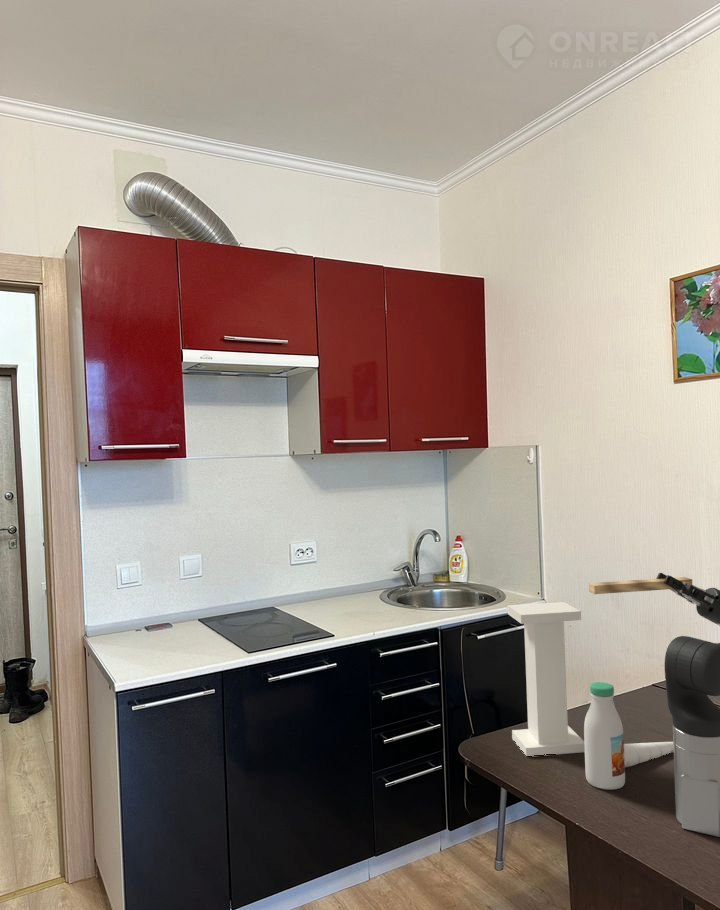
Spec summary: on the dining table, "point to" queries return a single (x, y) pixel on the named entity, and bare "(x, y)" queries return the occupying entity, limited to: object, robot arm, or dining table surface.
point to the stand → (546, 679)
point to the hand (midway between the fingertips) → (662, 577)
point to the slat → (632, 585)
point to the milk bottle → (604, 740)
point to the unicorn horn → (645, 751)
